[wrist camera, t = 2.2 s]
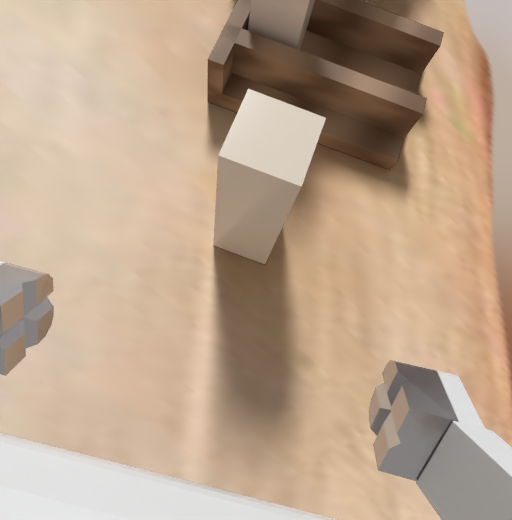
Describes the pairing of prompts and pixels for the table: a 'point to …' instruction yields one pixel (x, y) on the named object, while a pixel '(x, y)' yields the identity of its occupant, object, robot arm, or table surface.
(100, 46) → the table surface
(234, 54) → the rack
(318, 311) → the table surface
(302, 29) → the racked bar
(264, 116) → the clay bar
